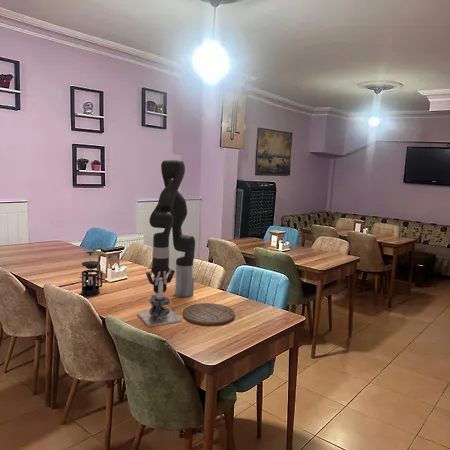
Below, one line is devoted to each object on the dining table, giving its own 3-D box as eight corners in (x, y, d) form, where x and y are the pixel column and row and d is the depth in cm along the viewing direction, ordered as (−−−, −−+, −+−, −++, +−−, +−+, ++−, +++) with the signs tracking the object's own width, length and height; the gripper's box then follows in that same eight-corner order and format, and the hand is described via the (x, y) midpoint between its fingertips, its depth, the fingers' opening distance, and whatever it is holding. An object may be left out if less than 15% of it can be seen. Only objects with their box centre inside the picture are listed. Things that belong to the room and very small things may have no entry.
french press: (84, 298, 212) (84, 254, 208) (77, 293, 219) (76, 251, 215) (105, 293, 220) (105, 252, 216) (97, 289, 227) (97, 248, 223)
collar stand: (168, 309, 202) (169, 292, 200) (182, 321, 188) (182, 302, 186) (137, 314, 194) (137, 296, 192) (148, 327, 180) (149, 307, 178)
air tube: (161, 311, 193) (162, 278, 190) (164, 313, 190) (165, 280, 187) (154, 312, 191) (155, 279, 188) (157, 314, 188) (158, 281, 186)
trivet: (206, 303, 214) (206, 299, 214) (244, 316, 199) (245, 312, 199) (171, 315, 195) (171, 311, 195) (211, 331, 180) (211, 327, 179)
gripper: (171, 253, 193) (170, 288, 195) (143, 255, 186) (142, 291, 188) (178, 256, 186) (177, 292, 189) (148, 259, 179) (147, 296, 182)
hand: (159, 292), depth 189 cm, fingers closed on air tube, 3 cm apart
